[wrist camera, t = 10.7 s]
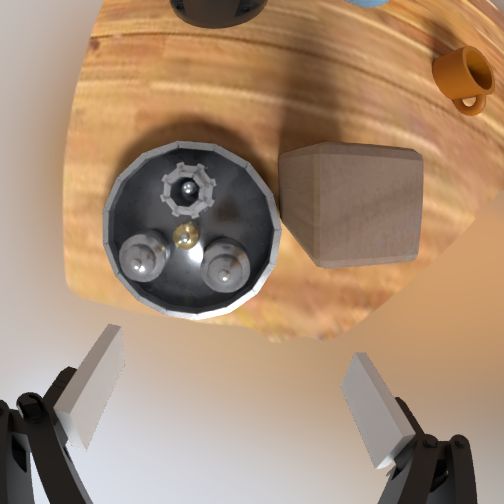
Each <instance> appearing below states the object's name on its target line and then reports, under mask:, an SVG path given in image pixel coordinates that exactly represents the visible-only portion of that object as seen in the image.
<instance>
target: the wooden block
mask: <svg viewBox="0 0 504 504" xmlns="http://www.w3.org/2000/svg"><path fill="white" fill-rule="evenodd" d="M278 167H279V199H280V218H281V221H282V223H283V224H284V225H285V226H286V227H287V229H288V230H289V231H290V233H291V234H292V235H293V236H294V238H295V239H296V240H297V241H298V243H299V244H300V245H301V246H302V248H303V249H304V250H305V252H306V253H307V254H308V255H309V257H310V258H311V259H312V261H313V262H314V263H315V264H316V266H318V267H321V268H324V269H331V268H344V267H356V266H369V265H380V264H392V263H403V262H411V261H413V260H415V259H416V257H417V255H418V249H419V241H420V231H421V219H422V204H423V158H422V155H421V154H419V153H418V152H416V151H415V150H413V149H409V148H401V147H392V146H383V145H372V144H359V143H344V142H322V143H318V144H314V145H310V146H306V147H303V148H299V149H295V150H292V151H288V152H285V153H282V154H280V156H279V159H278Z"/></svg>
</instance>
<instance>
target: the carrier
mask: <svg viewBox="0 0 504 504" xmlns="http://www.w3.org/2000/svg"><path fill="white" fill-rule="evenodd" d="M181 162H189V164H190V165H191V166H197V165H198V163H202V164H204V165H206V166H208V168H207V171H208V172H209V173H210V174H211V176H212V177H213V178H216V177H217V180H218V185H217V186H215V192H214V196H215V197H217V198H216V200H215V202H214V203H213V205H212V206H211V207H210V206H207V207H205V208H204V209H203V212H202V214H201V215H200V216H199V217H196V218H193V219H192V216H191V215H184V214H181V215H180V216H178V217H177V216H175V215H173V214H172V212H173V210H172V209H171V207H170V206H169V205H168V204H167V202H166V201H164V202H162V200H161V197H160V195H162V194H163V193H164V182H163V181H161V180H162V179H163V177H164V175H165V174H169V173H171V172H173V171H174V170H175V169H176V168H177V164H178V163H181ZM199 192H200V187H199V185H198V184H197V183H196V182H195V180H194V179H193V178H191V177H186V178H185V179H183V180H182V181H181V186H180V193H181V194H182V195H183V196H184V198H185V199H186V200H193V201H197V200H198V199H199ZM281 231H282V229H281V225H280V221H279V216H278V212H277V208H276V204H275V200H274V196H273V193H272V192H271V190H270V189H269V188H268V186H267V185H266V184H265V182H264V181H263V179H262V178H261V176H260V175H259V174H258V173H257V172H256V171H255V169H254V168H253V167H252V165H251V164H250V163H249V162H247V161H245V160H244V159H242V158H240V157H239V156H237V155H236V154H234V153H232V152H230V151H228V150H226V149H224V148H222V147H220V146H218V145H217V144H211V143H200V142H188V141H175V142H172V143H170V144H167V145H164V146H161V147H158V148H155V149H153V150H150V151H147V152H144V153H142V154H141V155H140V156H139V157H138V158H137V159H136V160H135V161H134V162H133V163H132V164H130V165H129V166H128V167H127V168H126V169H125V170H124V171H123V172H122V173H121V174H120V175H119V176H118V177H117V178H116V181H115V183H114V185H113V187H112V190H111V192H110V194H109V197H108V199H107V202H106V204H105V207H104V209H103V246H104V248H105V251H106V254H107V256H108V259H109V262H110V264H111V267H112V269H113V272H114V274H115V276H116V277H117V278H118V279H119V281H120V282H121V283H122V284H123V285H124V286H125V287H126V289H127V290H128V291H129V292H130V293H131V294H132V295H133V296H134V297H135V298H136V300H138V301H140V302H142V303H143V304H145V305H147V306H149V307H151V308H153V309H155V310H156V311H158V312H160V313H162V314H164V315H167V316H173V317H181V318H188V319H196V320H199V319H204V318H208V317H212V316H217V315H221V314H225V313H229V312H231V311H233V310H234V309H236V308H237V307H238V306H240V305H241V304H243V303H244V302H246V301H247V300H249V299H250V298H251V297H253V296H254V295H256V294H257V293H258V291H259V290H260V288H261V287H262V285H263V284H264V282H265V281H266V279H267V278H268V276H269V274H270V273H271V271H272V270H273V268H274V267H275V265H276V260H277V254H278V249H279V243H280V237H281Z"/></svg>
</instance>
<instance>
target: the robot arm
mask: <svg viewBox="0 0 504 504" xmlns="http://www.w3.org/2000/svg"><path fill="white" fill-rule="evenodd" d="M344 1H347V2H349V3H352V4H355V5H357V6H360V7H364V8H367V7H371V8H373V7H377V6H380V5H383V4H385V3H387V2H388V1H390V0H344ZM170 3H171V6H172V8H173V10H174V12H175V14H176V15H177V16H178V17H179V18H180V19H181V20H183V21H184V22H186V23H188V24H191V25H194V26H197V27H202V28H212V29H216V28H227V27H232V26H236V25H239V24H242V23H244V22H247V21H249V20H251V19H252V18H254V17H255V16H256V15H258V14H259V13H260V12H261V11H262V10H263V8H264V7H265V5H266V3H267V0H170ZM124 366H125V361H124V352H123V341H122V328H121V326H117V325H112V324H108V326H107V327H106V328H105V330H104V331H103V333H102V334H101V336H100V337H99V338H98V340H97V341H96V343H95V344H94V346H93V347H92V349H91V350H90V351H89V353H88V355H87V356H86V358H85V359H84V361H83V362H82V363H81V365H80V366H79V368H78V369H75V368H72V367H67V368H66V369H64V370H63V371H61V372H60V373H59V375H58V376H57V378H56V380H55V381H54V382H53V383H52V385H51V386H50V388H49V389H48V391H47V392H46V394H45V395H44V397H43V398H42V397H41V396H40V395H38V394H36V393H33V392H28V393H24V394H22V395H21V396H20V397H19V398H18V399H17V403H16V406H17V408H18V410H14V409H9V407H8V405H7V403H6V402H4V401H3V400H0V504H35V502H34V495H33V487H32V478H31V464H30V452H32V456H33V459H34V462H35V465H36V468H37V471H38V474H39V477H40V479H41V482H42V485H43V487H44V490H45V493H46V495H47V497H48V500H49V502H50V504H93V502H92V501H91V499H90V497H89V495H88V493H87V491H86V489H85V487H84V485H83V483H82V481H81V479H80V477H79V475H78V473H77V471H76V469H75V467H74V464H73V462H72V460H71V457H70V455H69V452H68V450H67V448H66V446H65V444H66V442H67V440H69V442H70V444H71V446H74V447H76V448H79V449H81V450H84V451H86V450H87V448H88V446H89V444H90V441H91V439H92V436H93V434H94V432H95V429H96V427H97V425H98V422H99V420H100V418H101V415H102V413H103V411H104V409H105V406H106V404H107V402H108V400H109V398H110V395H111V393H112V391H113V389H114V387H115V385H116V382H117V380H118V378H119V376H120V374H121V372H122V370H123V368H124ZM340 388H341V390H342V392H343V395H344V397H345V399H346V402H347V404H348V406H349V408H350V411H351V413H352V415H353V418H354V420H355V422H356V425H357V427H358V429H359V432H360V434H361V436H362V438H363V441H364V443H365V446H366V448H367V451H368V453H369V455H370V458H371V460H372V462H373V465H374V467H375V469H379V468H383V467H387V466H389V465H390V463H391V462H392V461H393V460H394V461H395V463H396V465H395V466H394V467H393V468H392V469H391V470H390V471H389V472H388V473H387V475H386V476H388V475H389V474H390V473H391V474H390V477H389V479H388V482H387V484H386V487H385V489H384V491H383V493H382V496H381V497H380V500H379V502H378V504H477V492H476V482H475V474H474V467H473V460H472V454H471V449H470V444H469V441H468V439H467V438H466V437H464V436H462V435H459V434H458V435H454V436H453V437H452V438H451V439H450V440H449V441H438V439H437V438H436V437H434V436H433V435H430V434H425V433H424V432H423V430H422V428H421V427H420V425H419V424H418V422H417V421H416V419H415V417H414V416H413V414H412V412H411V411H409V408H408V406H407V405H406V403H405V402H404V401H403V400H402V399H400V398H399V397H395V398H394V396H393V395H392V393H391V392H390V390H389V388H388V387H387V385H386V384H385V382H384V381H383V379H382V377H381V376H380V374H379V373H378V371H377V369H376V368H375V366H374V365H373V363H372V361H371V360H370V358H369V357H368V355H367V354H366V353H355V354H354V356H353V359H352V361H351V363H350V366H349V368H348V370H347V372H346V375H345V377H344V379H343V381H342V383H341V386H340ZM447 471H448V473H447Z"/></svg>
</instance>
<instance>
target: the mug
mask: <svg viewBox="0 0 504 504" xmlns="http://www.w3.org/2000/svg"><path fill="white" fill-rule="evenodd" d="M432 72H433V77H434V79H435V82H436V84H437V86H438V87H439V89H440V90H441V92H442V93H443V94H444V95H445V96H446V97H448V98H450V99H451V100H453V101H454V104H455V106H456V108H457V109H458V110H459V111H460V112H461V113H463V114H465V115H468V116H474V115H477V114H479V113H480V112H481V111H482V110H483V109H484V107H485V104H486V95H489V94H492V93H493V92H494V89H495V78H494V74H493V71H492V69H491V66H490V64H489V63H488V61H487V59H486V58H485V57H484V55H483V54H482V53H481V52H480V51H479V50H477V49H476V48H474V47H472V46H465V47H463V48H460V49H458V50H455V51H453V52H450V53H448V54H445V55H443V56H441V57H438V58H437V59H435V60H434V62H433V64H432ZM472 97H476V101H475V103H474V104H473V105H472V106H470V107H468V106H466V105H465V104H464V103H463V101H462V99H467V98H472Z"/></svg>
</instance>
